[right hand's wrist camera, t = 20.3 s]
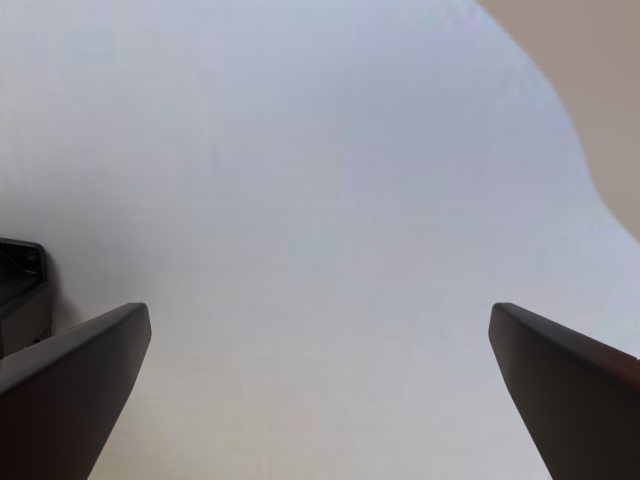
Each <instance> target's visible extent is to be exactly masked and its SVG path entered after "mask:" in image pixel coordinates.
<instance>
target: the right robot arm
mask: <svg viewBox="0 0 640 480" xmlns="http://www.w3.org/2000/svg"><path fill="white" fill-rule="evenodd" d="M31 250H33V251H34V252H35V253H36V256H35V255H33V254H32V252H31ZM51 323H52V312H51V297H50V286H49V284H48V282H47V267H46V253H45V249H44V248H43V247H42V246H41V245H40V244H37V243H33V242H26V241H19V240H12V239H5V238H0V480H87V479H88V477H89V475H90V473H91V471H92V469H93V467H94V465H95V463H96V461H97V459H98V457H99V455H100V453H101V451H102V449H103V447H104V445H105V443H106V441H107V439H108V437H109V435H110V433H111V431H112V429H113V427H114V425H115V423H116V421H117V419H118V417H119V415H120V413H121V411H122V409H123V407H124V405H125V403H126V401H127V399H128V397H129V395H130V393H131V391H132V389H133V386H134V384H135V381H136V379H137V376H138V373H139V370H140V368H141V365H142V362H143V359H144V357H145V354H146V351H147V348H148V346H149V343H150V340H151V325H150V319H149V312H148V308H147V305H146V304H145V303H128V304H125V305H123V306H121V307H119V308H116V309H114V310H112V311H109V312H107V313H105V314H103V315H100V316H98V317H96V318H93V319H91V320H89V321H87V322H84V323H82V324H80V325H77V326H75V327H73V328H71V329H68V330H66V331H64V332H61V333H59V334H57V335H55V336H52V337H51ZM39 339H41V340H42V341H40V340H39ZM489 340H490V343H491V346H492V348H493V351H494V354H495V357H496V359H497V362H498V365H499V368H500V370H501V373H502V376H503V379H504V381H505V384H506V386H507V389H508V391H509V393H510V395H511V397H512V399H513V401H514V403H515V405H516V407H517V409H518V411H519V413H520V415H521V417H522V419H523V421H524V423H525V425H526V427H527V429H528V431H529V433H530V435H531V437H532V439H533V441H534V443H535V445H536V447H537V449H538V451H539V453H540V455H541V457H542V459H543V461H544V463H545V465H546V467H547V469H548V471H549V473H550V475H551V477H552V479H553V480H640V360H637V358H636V357H633V356H631V355H629V354H627V353H624V352H622V351H620V350H617V349H615V348H613V347H611V346H608V345H606V344H604V343H601V342H599V341H597V340H595V339H592V338H590V337H588V336H585V335H583V334H581V333H579V332H576V331H574V330H572V329H569V328H567V327H565V326H563V325H560V324H558V323H556V322H553V321H551V320H549V319H547V318H544V317H542V316H540V315H537V314H535V313H533V312H531V311H528V310H526V309H524V308H521V307H519V306H517V305H515V304H512V303H495V304H494V305H493V308H492V312H491V319H490V325H489ZM25 347H26V348H25ZM24 348H25V349H24Z"/></svg>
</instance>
